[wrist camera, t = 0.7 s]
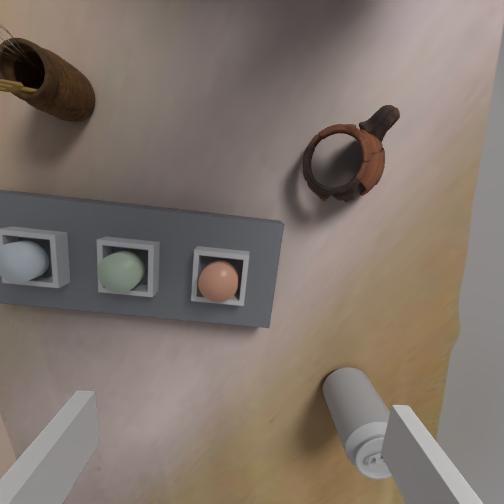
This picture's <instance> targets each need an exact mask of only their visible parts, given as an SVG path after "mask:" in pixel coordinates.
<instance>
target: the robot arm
mask: <svg viewBox="0 0 504 504" xmlns="http://www.w3.org/2000/svg"><path fill="white" fill-rule="evenodd" d="M98 444H99V431H98V419H97V407H96V394H95V391H80V390H77V391H76V392H75V393H74V395H73V396H72V397H71V398H70V399H69V400H68V401H67V403H66V404H65V405H64V406H63V407H62V408H61V410H60V411H59V412H58V413H57V414H56V415H55V417H54V418H53V419H52V420H51V421H50V422H49V423H48V425H47V426H46V427H45V428H44V429H43V430H42V432H41V433H40V434H39V435H38V436H37V437H36V439H35V440H34V441H33V442H32V443H31V444H30V445H29V447H28V448H27V449H26V450H25V451H24V452H23V454H22V455H21V456H20V457H19V458H18V459H17V460H16V462H15V463H14V464H13V465H12V466H11V467H10V469H9V470H8V471H7V472H6V473H5V475H4V476H3V477H2V478H1V479H0V504H63V503H64V501H65V499H66V498H67V496H68V494H69V492H70V491H71V489H72V487H73V486H74V484H75V482H76V481H77V479H78V477H79V476H80V474H81V472H82V471H83V469H84V467H85V466H86V464H87V462H88V461H89V459H90V457H91V455H92V454H93V452H94V450H95V449H96V447H97V445H98ZM381 455H382V457H383V459H384V461H385V463H386V465H387V467H388V469H389V471H390V473H391V475H392V477H393V479H394V480H395V482H396V484H397V486H398V488H399V490H400V492H401V494H402V496H403V498H404V500H405V502H406V504H483V503H482V501H481V500H480V499H479V497H478V496H477V495H476V494H475V493H474V491H473V490H472V488H471V487H470V486H469V484H468V483H467V482H466V480H465V479H464V478H463V476H462V475H461V474H460V472H459V471H458V470H457V469H456V467H455V466H454V465H453V463H452V462H451V461H450V459H449V458H448V457H447V456H446V454H445V453H444V451H443V450H442V449H441V448H440V446H439V445H438V444H437V442H436V441H435V440H434V438H433V437H432V436H431V434H430V433H429V432H428V430H427V429H426V428H425V426H424V425H423V424H422V423H421V421H420V420H419V419H418V417H417V416H416V415H415V413H414V412H413V411H412V409H411V408H410V407H409V406H404V405H392V407H391V412H390V416H389V420H388V424H387V428H386V432H385V436H384V441H383V445H382V449H381Z"/></svg>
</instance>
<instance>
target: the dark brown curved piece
mask: <svg viewBox="0 0 504 504" xmlns="http://www.w3.org/2000/svg"><path fill="white" fill-rule="evenodd" d="M399 117H400V114H399V111H398V108H395V107H394V106H392V105H385V106H383V107H382V108H380V109H379V110H378V111H377V112H376V113H375V114H374V115H373V116H372V117H371V118H370V119H369V120H367V121H365V122H361V123H359V127H360V130H359V129H357V128H356V125H353V124H346V125H343V124H337V125H333V126H330V127H327V128H325V129H324V130H322V131H321V132H319V133H318V135H316V136H315V137H314V138H313V139H312V140H311V142H310V143H309V145H308V147H307V148H306V150H305V153H304V158H303V174H304V178H305V180H306V181H307V184H308V186H309V188H310V189H311V190H312V191H313V192H314V193H316V194H317V195H318V196H319V197H320V199H322V200H323V201H325V200H326V199H327V198H328V197H329V196H331V195H333V196H334V197H335V198H336V199H338V200H343V201H345V202H348V201H351V200H353V199H355V196H354V195H355V193H356V189H357V187H358V185H359V183H361V184H362V185H363V186H364V189H363V190H362V191H360V195H361V196H363V195H365V194H366V193H368V192H369V191H370V190H371V189H372V188H373V187H374V186H375V185H377V183H378V182H379V180H380V178H381V176H382V173H383V170H384V164H385V151H384V148H383V147H382V140H383V138H384V136H385V134H386V132H387V131H388V130H389V129H390V128H391V127H392V126H393V125H394V123H395V122H396V121H397V120H398V119H399ZM337 133H344V134H348V135H350V136H353V137H354V138H355V139H356V140H357V141H358V143H359V144H360V146H361V149H362V163H361V166H360V169H359V171H358V172H357V174H356V175H355V177H354V178H353V179H352V180H351V181H350V182H348V183H347V184H345V185H343V186H340V187H335V188H328V187H325V186H323V185H321V184H319V183H318V182H317V181H316V179H315V178H314V176H313V174H312V170H311V159H312V155H313V152H314V150H315V147H316V145H317V144H318V143H319V142H320V141H321V140H322V139H325V138H326V137H328V136H330V135H333V134H337Z"/></svg>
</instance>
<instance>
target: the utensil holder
mask: <svg viewBox="0 0 504 504" xmlns="http://www.w3.org/2000/svg"><path fill="white" fill-rule="evenodd" d="M0 27H1V26H0ZM1 28H2V27H1ZM4 30H5V29H4ZM5 31H6V30H5ZM6 32H7V31H6ZM0 33H1V32H0ZM7 33H9V32H7ZM1 34H2V33H1ZM9 34H10V33H9ZM2 35H3V34H2ZM10 35H11V34H10ZM3 36H4V35H3ZM11 36H12V35H11ZM4 37H5V36H4ZM0 38H1V37H0ZM5 38H6V37H5ZM1 39H2V38H1ZM6 39H7V38H6ZM2 40H3V39H2ZM0 91H4V92H11V93H12V94H14V95H15V96H17V97H18V98H20V99H22V100H24V101H26V102H27V103H28V104H30V105H31V106H33V107H35V108H36V109H39V110H41V111H43V112H45V113H48V114H50V115H53V116H55V117H58V118H61V119H64V120H67V121H81V120H83V119H85V118H87V117H88V116H89V115H90V114H91V112H92V111H93V108H94V105H95V95H94V90H93V88H92V86H91V84H90V82H89V81H88V79H87V78H86V77H85V76H84V75H83V74H82V73H81V72H80V71H79V70H77V69H76V68H75V67H73V66H72V65H71V64H69V63H68V62H67V61H65V60H64V59H62V58H61V57H59V56H58V55H56V54H55V53H53V52H51V51H49V50H47V49H44V48H41V47H40V46H38V45H36V44H34V43H32V42H30V41H28V40H25V39H22V38H13V37H12V38H11V39H7V40H6V41H5V40H4V42H3V43H1V45H0Z"/></svg>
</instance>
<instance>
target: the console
mask: <svg viewBox="0 0 504 504" xmlns="http://www.w3.org/2000/svg"><path fill="white" fill-rule="evenodd" d="M283 228H284V224H283V223H282V222H281V221H277V220H268V219H259V218H250V217H241V216H232V215H223V214H214V213H205V212H196V211H187V210H178V209H169V208H160V207H151V206H142V205H133V204H124V203H115V202H106V201H97V200H88V199H79V198H70V197H61V196H52V195H43V194H34V193H25V192H16V191H7V190H0V246H1V245H4V244H9V243H13V242H18V241H23V240H28V241H33V242H35V243H37V244H39V245H40V246H41V247H42V248H43V249H44V250H45V251H46V253H47V255H48V257H49V267H48V269H47V271H46V272H45V273H44V274H43V275H41V276H38V277H36V278H34V279H31V280H29V281H26V282H23V283H13V282H10V281H7V280H5V279H4V278H2V277H1V276H0V303H3V304H14V305H24V306H35V307H46V308H57V309H68V310H79V311H89V312H100V313H111V314H122V315H133V316H144V317H154V318H165V319H176V320H187V321H198V322H209V323H219V324H230V325H241V326H252V327H263V328H269V326H270V319H271V312H272V305H273V298H274V291H275V284H276V277H277V270H278V263H279V256H280V249H281V242H282V235H283ZM123 250H124V251H130V252H133V253H135V254H136V255H138V256H139V257H140V258H141V259H142V261H143V263H144V266H145V275H144V278H143V279H142V281H141V282H140V283H138V284H137V285H136V286H135V287H134V288H132V289H131V290H129V291H127V292H124V293H116V292H112V291H110V290H108V289H107V288H105V287H104V286H103V285H102V284H101V282H100V281H99V278H98V275H97V268H98V265H99V263H100V262H101V260H102V259H104V258H105V257H107V256H109V255H111V254H113V253H116V252H118V251H123ZM217 260H222V261H226V262H228V263H230V264H231V265H233V266H234V268H235V269H236V271H237V273H238V286H237V290H236V293H235V294H234V295H233V297H231V298H230V299H229V300H227V301H224V302H213V301H210V300H208V299H206V298H205V297H204V296H203V295H202V294H201V292H200V290H199V287H198V280H199V277H200V274H201V273H202V271H203V269H204V268H205V266H206V265H208V264H209V263H211V262H213V261H217Z"/></svg>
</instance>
